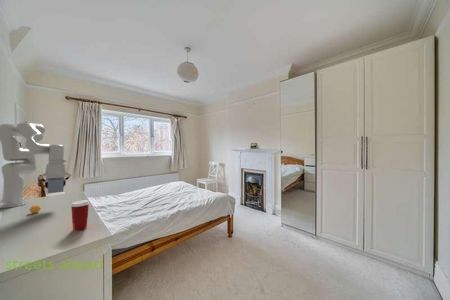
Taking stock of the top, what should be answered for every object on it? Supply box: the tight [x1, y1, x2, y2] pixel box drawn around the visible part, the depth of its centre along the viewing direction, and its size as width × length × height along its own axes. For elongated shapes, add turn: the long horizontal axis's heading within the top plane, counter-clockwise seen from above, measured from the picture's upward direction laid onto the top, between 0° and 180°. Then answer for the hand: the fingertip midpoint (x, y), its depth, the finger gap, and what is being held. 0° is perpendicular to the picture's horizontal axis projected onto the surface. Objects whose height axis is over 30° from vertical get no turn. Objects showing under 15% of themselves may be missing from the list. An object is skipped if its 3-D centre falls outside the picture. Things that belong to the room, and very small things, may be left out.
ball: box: [29, 204, 42, 214], centre depth 116 cm, size 5×5×5 cm
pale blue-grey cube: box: [46, 178, 65, 194], centre depth 124 cm, size 8×8×9 cm
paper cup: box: [70, 199, 90, 232], centre depth 93 cm, size 8×8×14 cm
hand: (55, 187), depth 124 cm, fingers closed on pale blue-grey cube, 7 cm apart
